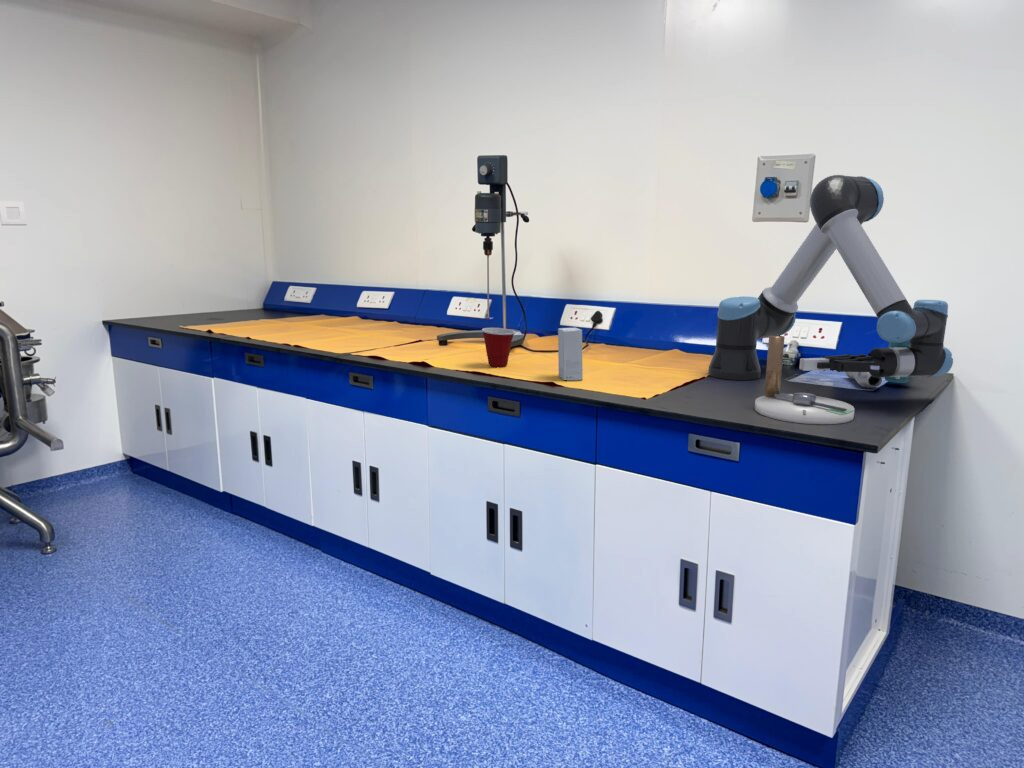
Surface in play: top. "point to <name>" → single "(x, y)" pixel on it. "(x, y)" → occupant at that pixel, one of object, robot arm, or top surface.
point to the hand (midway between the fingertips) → (802, 364)
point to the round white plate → (804, 410)
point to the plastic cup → (498, 345)
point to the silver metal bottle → (864, 379)
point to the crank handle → (775, 377)
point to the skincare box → (570, 353)
